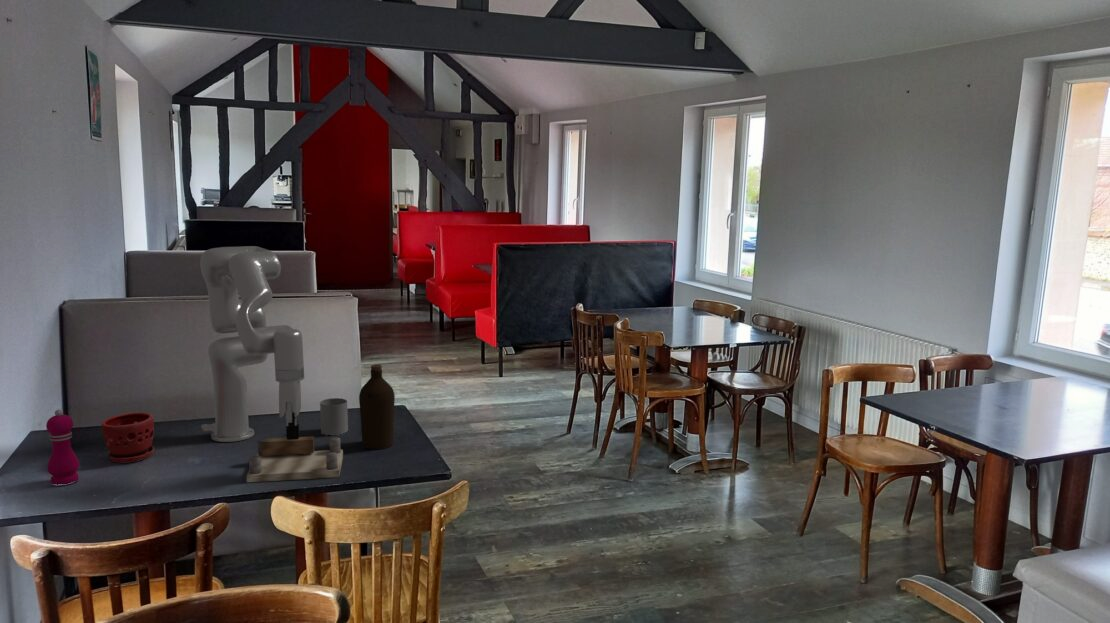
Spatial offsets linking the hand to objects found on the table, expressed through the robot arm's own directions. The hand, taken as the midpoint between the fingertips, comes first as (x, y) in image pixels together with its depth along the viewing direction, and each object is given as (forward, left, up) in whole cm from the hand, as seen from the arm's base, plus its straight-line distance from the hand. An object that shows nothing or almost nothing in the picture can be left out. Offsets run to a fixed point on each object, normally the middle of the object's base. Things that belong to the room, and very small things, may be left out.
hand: (293, 438), depth 218 cm
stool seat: (+1, +1, -9) cm, 9 cm away
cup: (+9, +34, -9) cm, 36 cm away
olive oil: (+23, +19, -9) cm, 31 cm away
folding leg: (-3, +8, -7) cm, 10 cm away
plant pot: (-47, +18, -10) cm, 51 cm away
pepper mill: (-58, +1, -9) cm, 59 cm away
